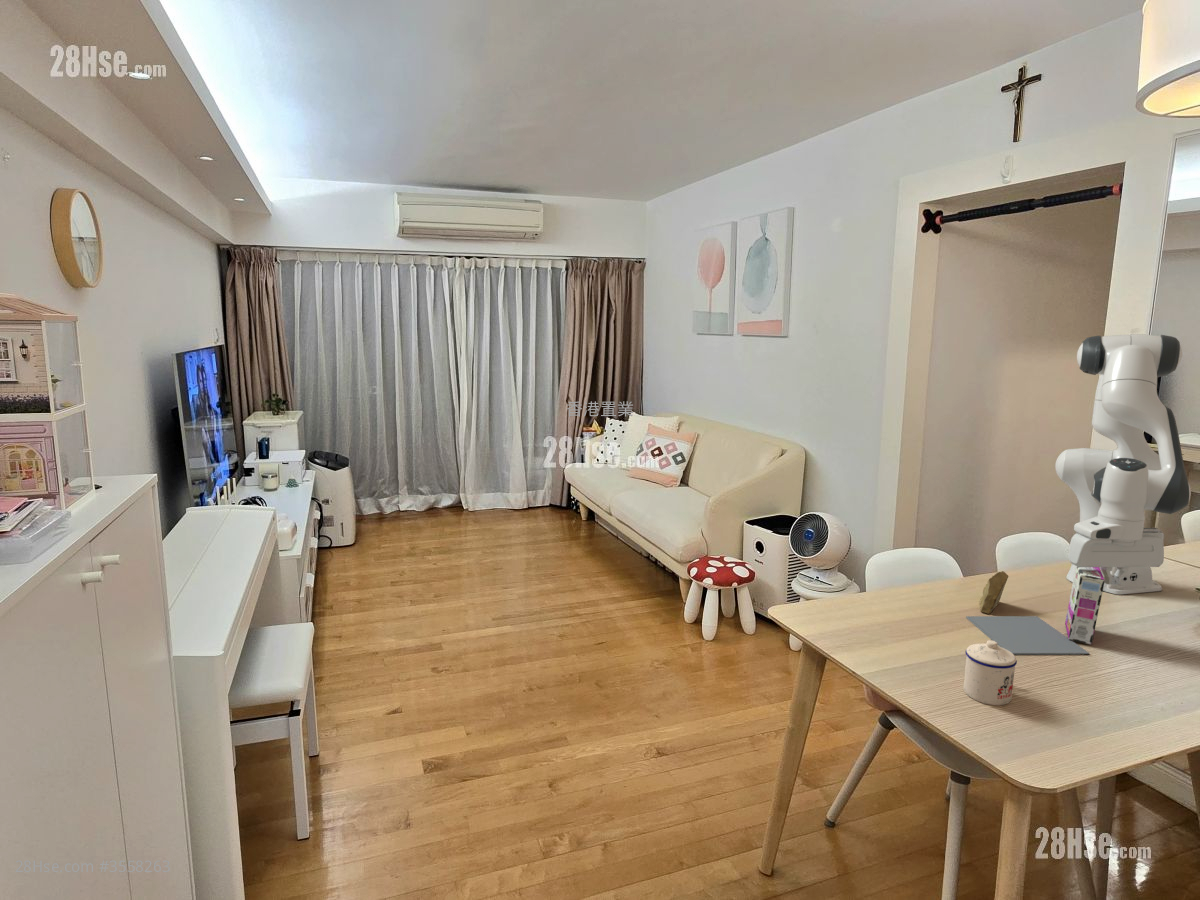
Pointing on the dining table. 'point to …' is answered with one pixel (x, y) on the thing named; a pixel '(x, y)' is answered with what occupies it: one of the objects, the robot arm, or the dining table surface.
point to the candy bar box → (1084, 604)
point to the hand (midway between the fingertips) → (1112, 583)
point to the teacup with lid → (989, 673)
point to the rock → (993, 592)
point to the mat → (1026, 635)
